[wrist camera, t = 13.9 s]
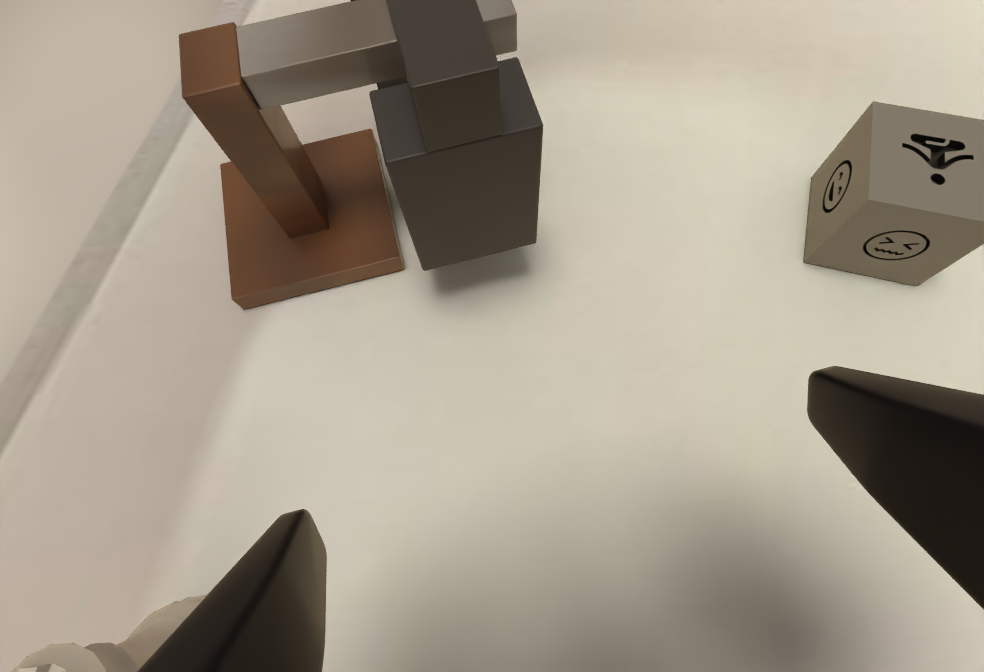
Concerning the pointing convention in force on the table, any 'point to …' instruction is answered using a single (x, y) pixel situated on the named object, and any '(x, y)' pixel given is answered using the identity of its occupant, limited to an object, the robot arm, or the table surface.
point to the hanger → (303, 168)
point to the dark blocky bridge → (458, 135)
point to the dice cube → (899, 195)
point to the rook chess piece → (113, 646)
